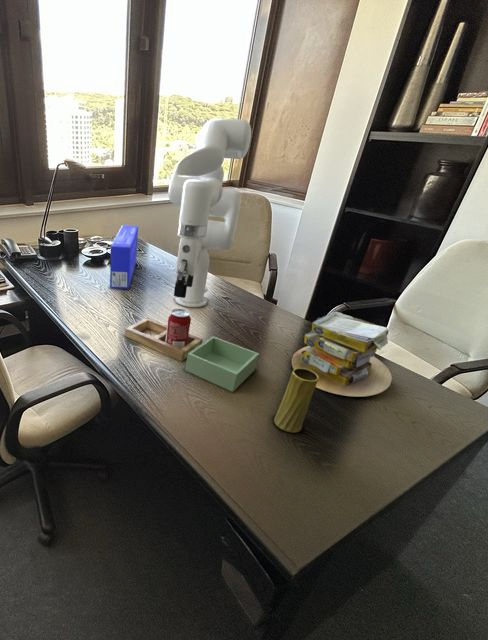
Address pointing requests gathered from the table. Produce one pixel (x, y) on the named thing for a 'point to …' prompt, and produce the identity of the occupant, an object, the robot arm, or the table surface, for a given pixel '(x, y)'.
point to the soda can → (178, 328)
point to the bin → (221, 363)
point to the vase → (296, 400)
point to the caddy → (160, 339)
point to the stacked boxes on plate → (345, 355)
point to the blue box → (123, 257)
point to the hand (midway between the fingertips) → (183, 291)
